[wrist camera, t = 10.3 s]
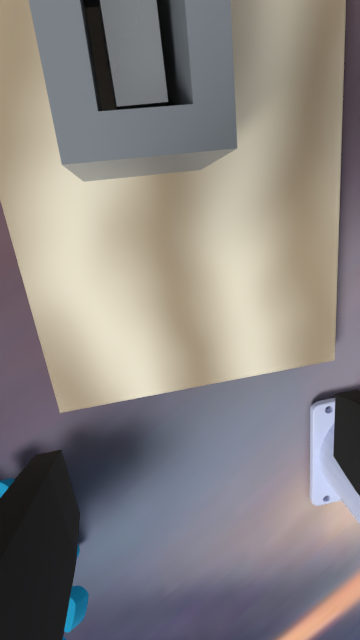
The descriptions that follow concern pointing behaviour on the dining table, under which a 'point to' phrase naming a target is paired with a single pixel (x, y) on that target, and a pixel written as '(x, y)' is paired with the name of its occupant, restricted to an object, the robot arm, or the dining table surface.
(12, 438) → the dining table surface
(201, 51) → the grey hollow rectangular block
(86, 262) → the shaft board
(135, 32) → the key shaft
